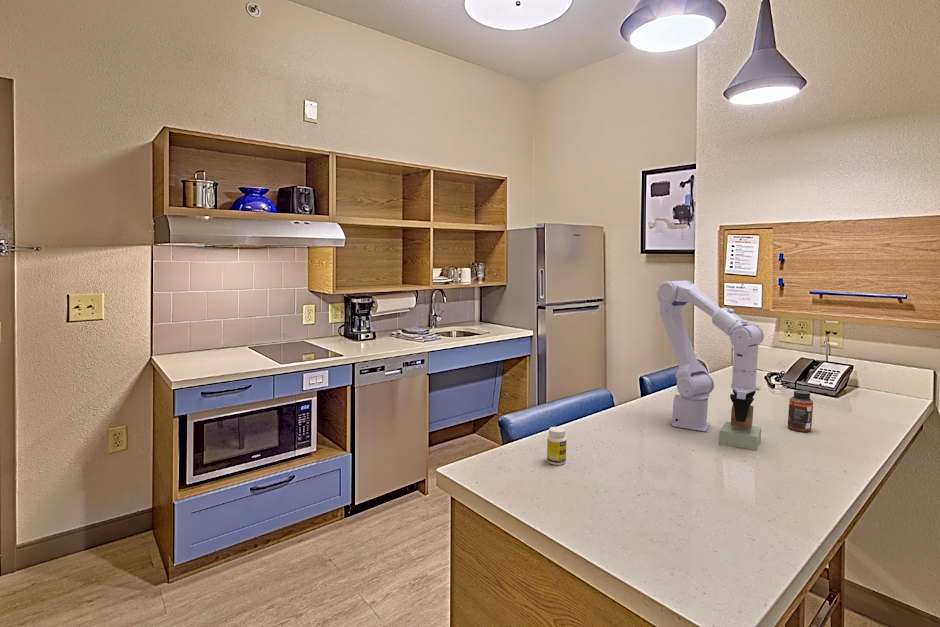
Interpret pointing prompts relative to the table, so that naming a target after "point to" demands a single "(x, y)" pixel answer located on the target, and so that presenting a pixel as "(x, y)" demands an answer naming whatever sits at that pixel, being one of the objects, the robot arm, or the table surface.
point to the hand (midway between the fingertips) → (741, 418)
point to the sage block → (740, 436)
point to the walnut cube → (747, 422)
